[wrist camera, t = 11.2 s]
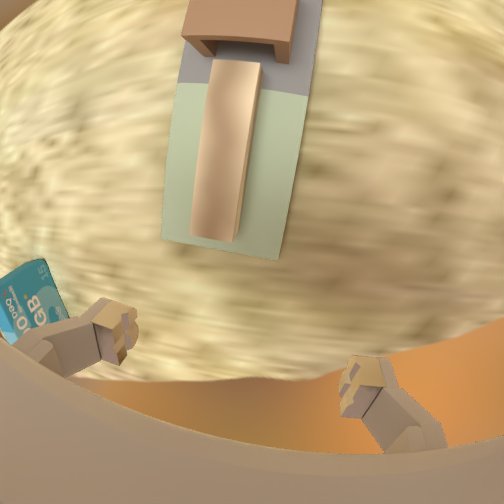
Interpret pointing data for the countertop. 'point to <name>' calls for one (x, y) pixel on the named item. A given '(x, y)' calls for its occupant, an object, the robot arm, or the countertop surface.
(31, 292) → the data package
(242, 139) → the birch bar
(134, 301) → the countertop surface
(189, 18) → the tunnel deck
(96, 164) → the countertop surface
